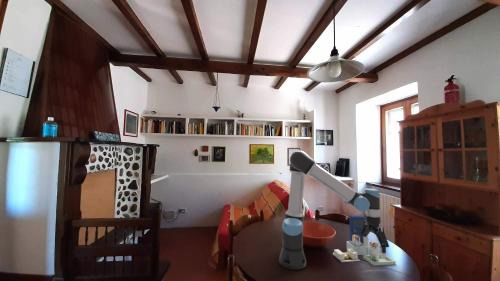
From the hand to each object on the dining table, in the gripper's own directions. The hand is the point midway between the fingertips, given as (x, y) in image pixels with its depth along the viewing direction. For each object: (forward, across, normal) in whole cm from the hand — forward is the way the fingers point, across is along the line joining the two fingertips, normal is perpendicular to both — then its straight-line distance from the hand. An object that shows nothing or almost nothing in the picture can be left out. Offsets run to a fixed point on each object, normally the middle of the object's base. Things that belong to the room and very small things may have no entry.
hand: (374, 252), depth 120 cm
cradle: (+5, +6, +14) cm, 16 cm away
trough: (+5, 0, -3) cm, 6 cm away
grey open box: (+5, +12, +3) cm, 13 cm away
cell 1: (+5, +12, +3) cm, 13 cm away
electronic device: (+5, +22, -5) cm, 23 cm away
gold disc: (+5, +6, +14) cm, 16 cm away
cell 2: (+5, 0, 0) cm, 5 cm away
